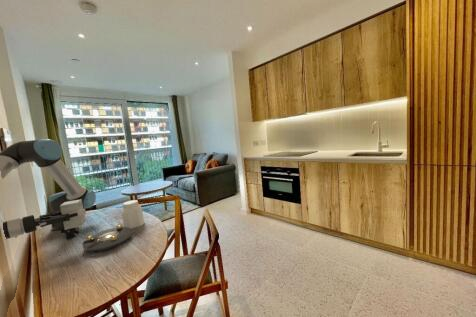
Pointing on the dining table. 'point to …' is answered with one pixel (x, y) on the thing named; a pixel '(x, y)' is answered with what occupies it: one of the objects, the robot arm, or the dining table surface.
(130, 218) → the jar
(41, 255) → the dining table surface
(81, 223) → the supplement box
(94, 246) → the base
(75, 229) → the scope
